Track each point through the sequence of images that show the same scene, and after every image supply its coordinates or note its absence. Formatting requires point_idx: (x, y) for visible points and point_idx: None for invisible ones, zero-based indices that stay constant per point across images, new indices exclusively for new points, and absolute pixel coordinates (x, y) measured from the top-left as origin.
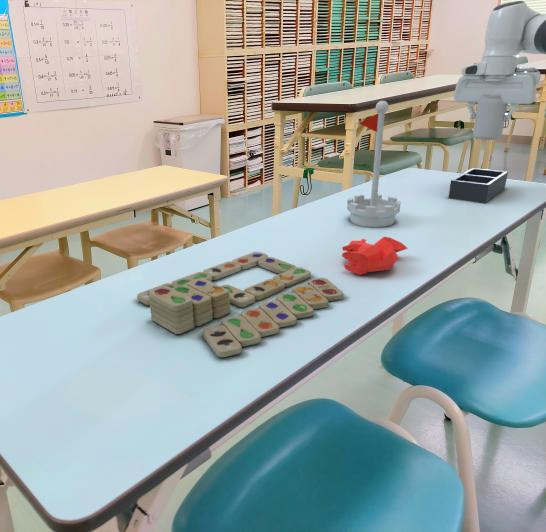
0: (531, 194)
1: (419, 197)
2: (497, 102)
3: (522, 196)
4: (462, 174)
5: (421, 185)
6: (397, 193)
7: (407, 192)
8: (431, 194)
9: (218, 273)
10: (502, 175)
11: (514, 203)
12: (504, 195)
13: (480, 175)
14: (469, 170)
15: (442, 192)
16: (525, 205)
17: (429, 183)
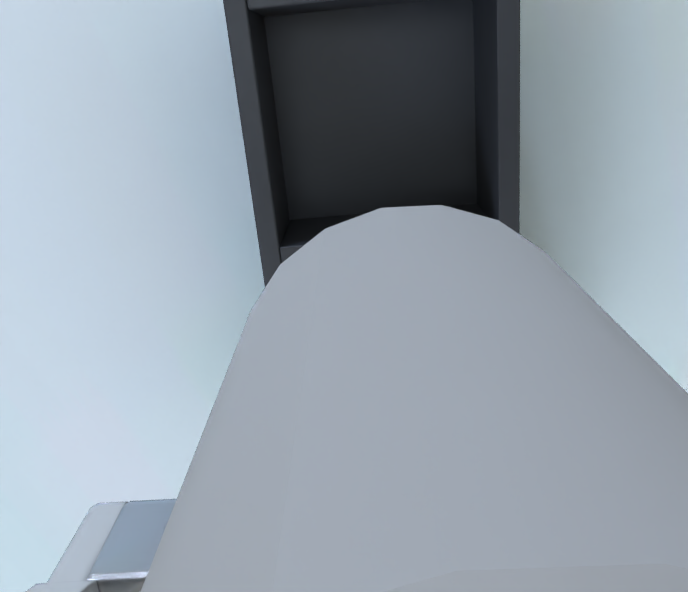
0: (673, 23)
1: (181, 471)
2: None
3: (631, 116)
4: (272, 275)
5: (24, 226)
6: (51, 467)
7: (74, 421)
8: (193, 386)
9: None
10: (518, 133)
11: (620, 303)
12: (532, 160)
13: (311, 7)
14: (248, 104)
15: (215, 311)
16: (677, 308)
17: (24, 140)
